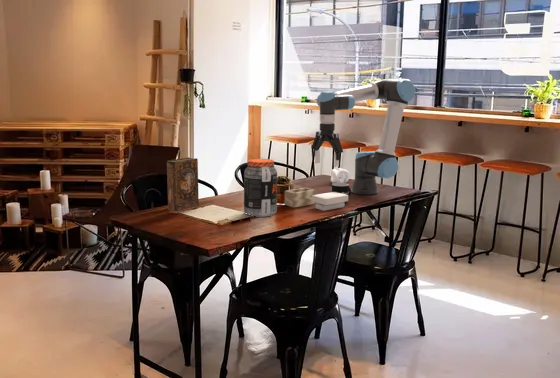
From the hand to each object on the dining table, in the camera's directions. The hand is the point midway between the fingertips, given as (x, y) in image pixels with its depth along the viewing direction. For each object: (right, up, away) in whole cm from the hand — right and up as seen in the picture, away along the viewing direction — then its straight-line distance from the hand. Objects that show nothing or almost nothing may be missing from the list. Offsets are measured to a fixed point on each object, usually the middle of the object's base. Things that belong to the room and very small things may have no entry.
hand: (326, 164), depth 291 cm
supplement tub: (-33, -24, -17) cm, 44 cm away
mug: (+9, -20, +8) cm, 23 cm away
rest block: (+1, -22, -5) cm, 23 cm away
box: (-14, -21, +1) cm, 25 cm away
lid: (+1, -18, -6) cm, 19 cm away
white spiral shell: (+12, -9, +60) cm, 61 cm away
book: (-71, -23, -12) cm, 75 cm away
